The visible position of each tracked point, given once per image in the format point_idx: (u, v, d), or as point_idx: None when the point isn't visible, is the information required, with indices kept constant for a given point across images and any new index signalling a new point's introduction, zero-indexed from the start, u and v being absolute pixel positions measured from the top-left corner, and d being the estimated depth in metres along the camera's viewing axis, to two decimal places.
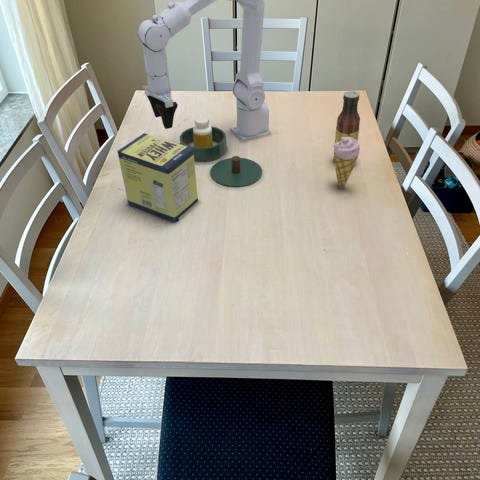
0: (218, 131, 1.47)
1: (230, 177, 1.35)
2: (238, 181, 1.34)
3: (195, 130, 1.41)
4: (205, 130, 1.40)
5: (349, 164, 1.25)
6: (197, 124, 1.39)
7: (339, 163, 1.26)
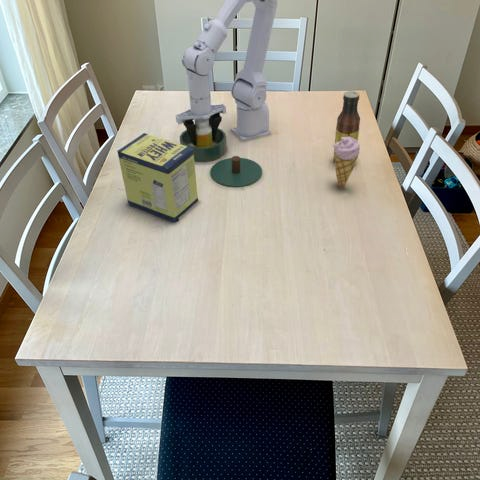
0: (218, 131, 1.47)
1: (230, 177, 1.35)
2: (238, 181, 1.34)
3: None
4: (205, 130, 1.40)
5: (349, 164, 1.25)
6: (197, 124, 1.39)
7: (339, 163, 1.26)
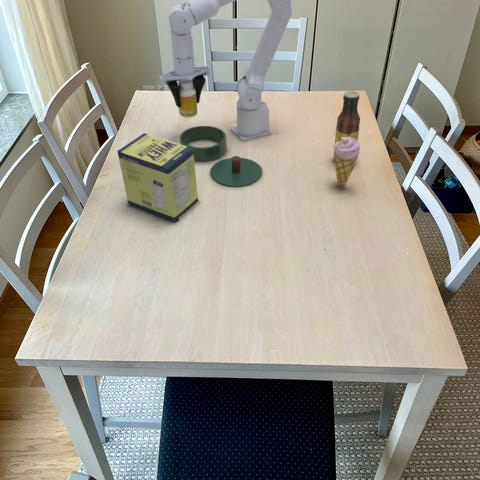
0: (218, 131, 1.47)
1: (230, 177, 1.35)
2: (238, 181, 1.34)
3: None
4: (189, 92, 1.42)
5: (349, 164, 1.25)
6: (181, 85, 1.41)
7: (339, 163, 1.26)
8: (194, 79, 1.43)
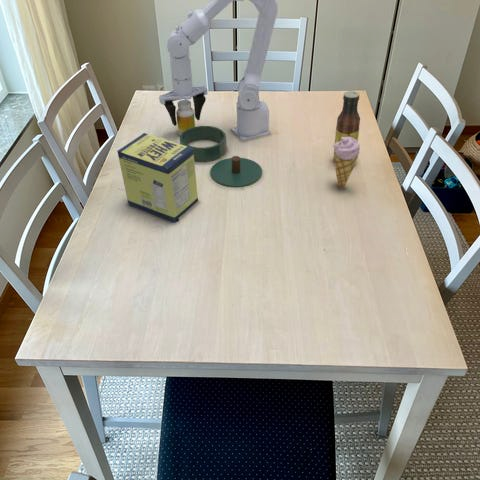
0: (218, 131, 1.47)
1: (230, 177, 1.35)
2: (238, 181, 1.34)
3: (178, 112, 1.49)
4: (187, 112, 1.49)
5: (349, 164, 1.25)
6: (180, 107, 1.48)
7: (339, 163, 1.26)
8: (195, 98, 1.49)
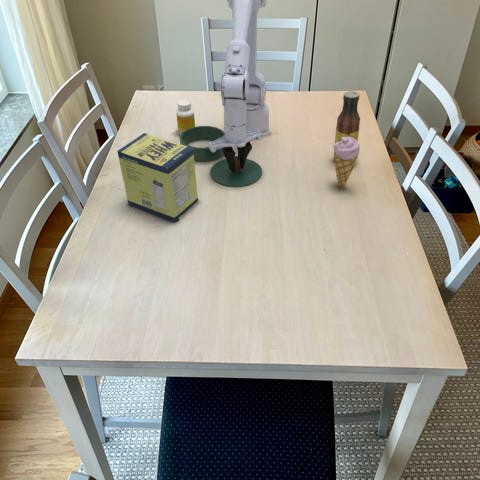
0: (218, 131, 1.47)
1: (230, 178, 1.35)
2: (238, 181, 1.34)
3: (178, 112, 1.49)
4: (187, 112, 1.49)
5: (349, 164, 1.25)
6: (180, 107, 1.48)
7: (339, 163, 1.26)
8: None
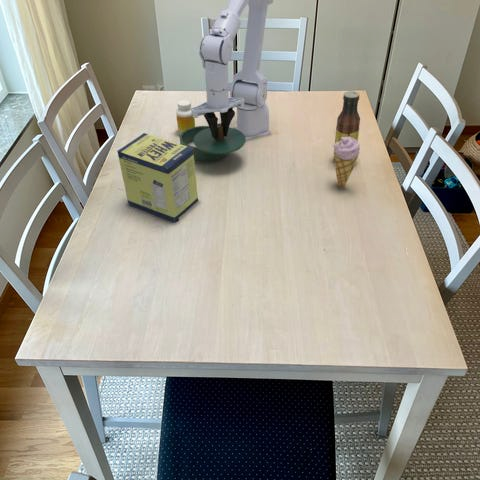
0: None
1: (213, 145, 1.35)
2: (221, 148, 1.33)
3: (178, 112, 1.49)
4: (187, 112, 1.49)
5: (349, 164, 1.25)
6: (180, 106, 1.48)
7: (339, 163, 1.26)
8: None
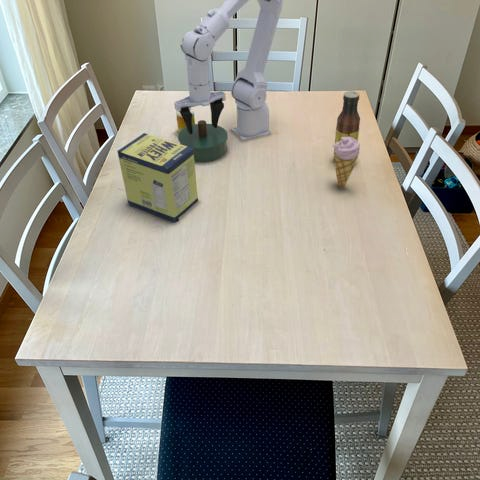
0: None
1: (196, 141, 1.41)
2: (204, 144, 1.40)
3: (178, 112, 1.49)
4: None
5: (349, 164, 1.25)
6: None
7: (339, 163, 1.26)
8: (212, 104, 1.39)
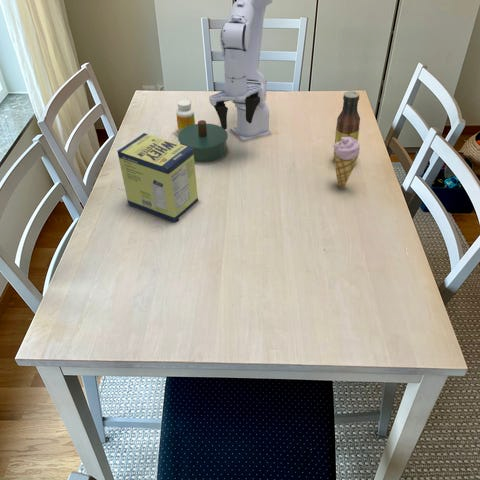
0: None
1: (196, 141, 1.41)
2: (204, 144, 1.40)
3: (178, 112, 1.49)
4: (187, 112, 1.49)
5: (349, 164, 1.25)
6: (180, 106, 1.48)
7: (339, 163, 1.26)
8: (248, 98, 1.34)
